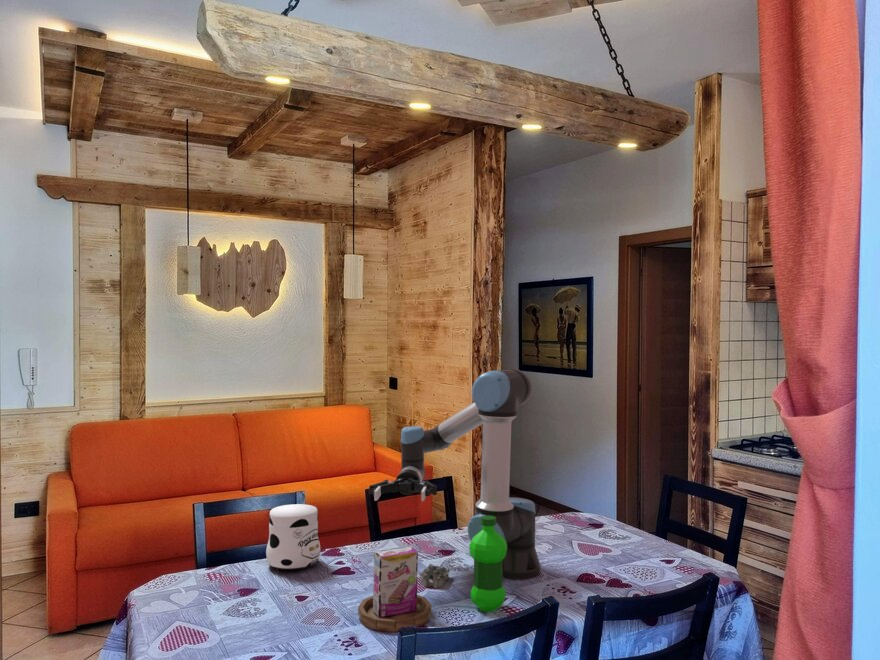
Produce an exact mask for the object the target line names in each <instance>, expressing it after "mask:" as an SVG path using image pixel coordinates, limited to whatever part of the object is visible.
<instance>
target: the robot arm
mask: <svg viewBox="0 0 880 660" xmlns="http://www.w3.org/2000/svg"><path fill="white" fill-rule="evenodd" d="M532 388H533V386H532V381H531V379H530V378H529V376H528V375H527V374H526V373H525V372H523V371H521V370H519V369H513V368H511V369H499V370H490V371H486V372H483V373H481V374H480V375H479V376H477V378H476V379H475V381H474V382H473V385H472V388H471V397H472V398H471V399H472V401H473V402H472V403H470V404H469V405H468V406H466V407H464V408H462V409H461V410H460V411H458V412H456V413H455V414H453V415H452V416H450V417H448V418H447V419H446V420H444V421H442V422H440V423H439V424H438V425H436V426H435V427H432V428H431V429H430V428H429V429H425V430H424V428H423V427H422V426H418V425H417V426H416V425H415V426H414V425H413V426H404V427H403V428H402V429H401V435H400V447H401V451H400V454H401V455H400V457H401V458H400V459H401V460H400V461H401V462H400V463H401V467H400V468H401V471H400V472H399V474H398V475H397V477H396V479H394V480H391V482H390V480H389V479H385V480H383V481H380V482H377V483H374V484H370V485H369V486H368V489H369V491H368V492H369V493H368V495H372V496H373V497H374V499H373V500H374V502H375V501H378V500H379V499H380V497H382V496H381V495H383V494H389V493H394V494H395V493H401V494H402V495H403V496H404V495H406V496H411V495H413V494H414V493H415V494H417V493H419V494H421V495H420V496H421V497H420V498H421V499H420V501H421V502H425V499H426V498H427V497H429V496H431V495H433V496H437V495H438V494H437V492H438V491H437V489H438V488H437V485H436V484H433V483H431V482H430V481H429V479H425V477H426V469H425V454H428V453H431V452H437V451H443V450H445V449H447V448H449V447H451V444H452V443H453V442H455V441H456V440H458V439H460V438H461V437H463V436H465V435H466V434H468V433H470V432H471V431H473V430H474V429H476V428H479V426H481V425H482V439H481V440H482V441H481V442H482V446H481V470H480V471H481V474H480V475H481V477H480V478H481V480H480V497H479V499H478V500H477V501H476V502H475V506H474V510H475V511H474V515H473V516H472V517H471V518H470V519H469V521H468V523H467V535H468V538H469V540H470V541H471V540H472V538H473V537H474V536H475V535H476V534H477V533H479V532H480V531H481V530H483V525H481V516H494V517H496V525H494V530H495V531H496V532H497V533H499V534H500V535H501V536H502V537H503V538H504V539H505V540H506V543H507V552H506V556H505V558H504V559H503V560H502V578H504V579H511V580H530V579H533V578H537V577H538V576H540V575H541V568H542V566H541V563H540V559H539V556H538V552H537V549H536V514H537V513H536V504H535V502H534V501H532V500H530V499H528V498H523V497H522V498H521V497H510V481H511V480H510V479H511V478H510V475H511V473H510V472H511V446H512V445H511V444H512V443H511V442H512V422H513V421H514V419H516V418H517V416H518V415H517V413H518V407H520V406H522V405H523V404H526V403H527V401H529V399H530V398H531V395H532V391H533V389H532ZM424 479H425V480H424Z"/></svg>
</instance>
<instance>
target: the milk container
mask: <svg viewBox="0 0 880 660" xmlns="http://www.w3.org/2000/svg"><path fill="white" fill-rule="evenodd" d="M268 517H269V518H268V520H269V524H268V531H269V533H268V534H269V535H268V541H267V544H266V550H265V555H266V561H267V563H268V565H269V566H270V567H271V568H273V569H276V570H279V571H298V570H304V569H307V568H311V567H312V566H315V564H317V563H318V562H319V559H320V556H321V543H320V540H319V532H318V531H319V530H318V528H319V513H318V508H317V506H314V505H312V504H302V503H296V504H284V505H280V506H279V505H278V506H276V507H273V508H271V510H270V511H269V516H268Z"/></svg>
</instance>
